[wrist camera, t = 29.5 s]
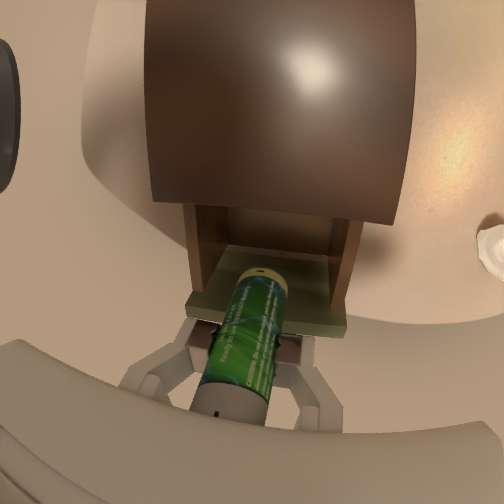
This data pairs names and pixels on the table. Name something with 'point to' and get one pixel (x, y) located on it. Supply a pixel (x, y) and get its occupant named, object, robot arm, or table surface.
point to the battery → (245, 351)
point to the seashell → (492, 250)
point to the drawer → (272, 263)
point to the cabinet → (280, 104)
